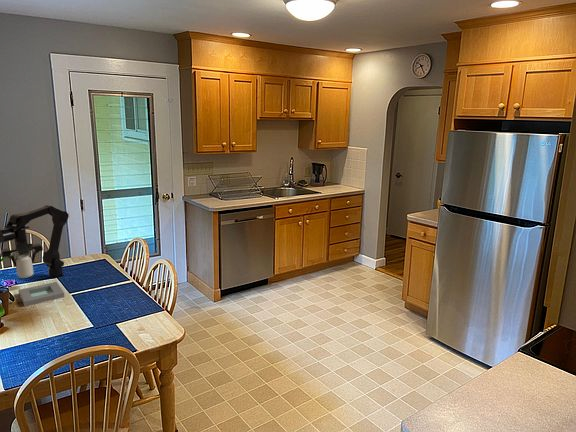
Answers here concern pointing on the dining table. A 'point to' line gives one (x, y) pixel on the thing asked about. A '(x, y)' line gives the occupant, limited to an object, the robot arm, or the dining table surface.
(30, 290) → the pocket frame
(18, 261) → the can
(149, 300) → the dining table surface
